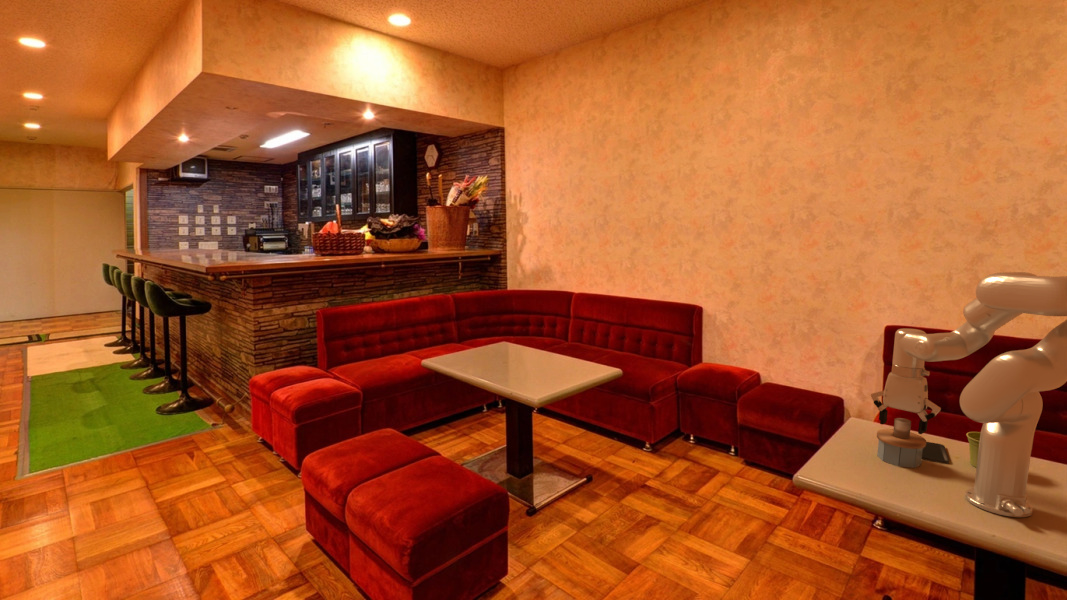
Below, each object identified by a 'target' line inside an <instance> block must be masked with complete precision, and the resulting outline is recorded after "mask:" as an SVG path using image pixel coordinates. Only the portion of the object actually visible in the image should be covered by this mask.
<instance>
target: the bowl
mask: <svg viewBox="0 0 1067 600" xmlns="http://www.w3.org/2000/svg"><path fill="white" fill-rule="evenodd" d="M922 451H923V448H921V449H909V448H902V447H897V446H893V445H890V444H887V443H884V442H882V441H881V440H879V439H878V445H877V457H878V458H879V459H880V460H881V461H882V462H884V463H887V464H890V465H893V466H895V467H901V468H902V467H903V468H910V469H911V468H913V469H915V468H917V467H919V466H921V465H922V461H923V459H922Z"/></svg>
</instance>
